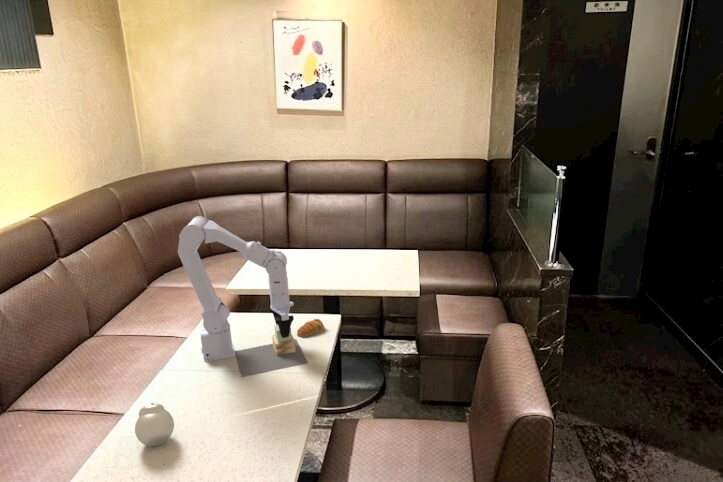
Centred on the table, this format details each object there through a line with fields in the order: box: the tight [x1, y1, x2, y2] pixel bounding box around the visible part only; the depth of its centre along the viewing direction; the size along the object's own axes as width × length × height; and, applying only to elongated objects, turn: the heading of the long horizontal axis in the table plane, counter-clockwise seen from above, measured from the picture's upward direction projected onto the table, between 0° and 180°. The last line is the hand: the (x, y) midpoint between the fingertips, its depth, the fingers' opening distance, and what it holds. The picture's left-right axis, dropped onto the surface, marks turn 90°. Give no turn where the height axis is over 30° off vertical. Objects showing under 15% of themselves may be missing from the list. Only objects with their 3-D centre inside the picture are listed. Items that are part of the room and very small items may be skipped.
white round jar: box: [134, 402, 175, 447], centre depth 130 cm, size 9×10×10 cm
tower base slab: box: [272, 342, 296, 356], centre depth 171 cm, size 6×6×2 cm
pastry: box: [296, 318, 326, 338], centre depth 181 cm, size 9×7×4 cm
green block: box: [273, 323, 293, 342], centre depth 169 cm, size 4×4×4 cm
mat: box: [234, 338, 309, 378], centre depth 167 cm, size 20×16×1 cm
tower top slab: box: [271, 333, 295, 350], centre depth 170 cm, size 6×6×2 cm
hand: (282, 331), depth 169 cm, fingers open, 7 cm apart
